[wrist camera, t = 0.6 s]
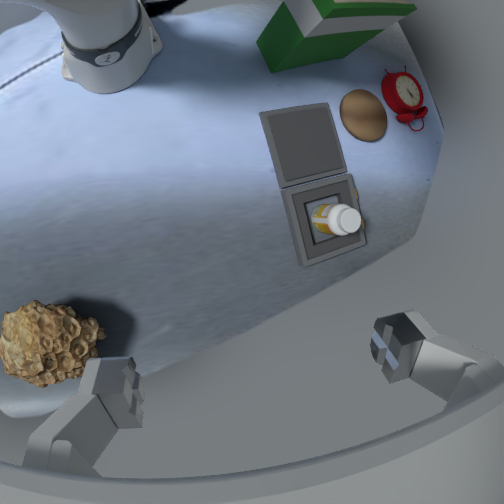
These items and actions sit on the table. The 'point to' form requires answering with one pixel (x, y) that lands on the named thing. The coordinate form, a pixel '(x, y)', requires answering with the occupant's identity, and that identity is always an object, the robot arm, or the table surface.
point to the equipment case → (310, 174)
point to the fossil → (47, 343)
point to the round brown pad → (363, 115)
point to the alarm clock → (404, 96)
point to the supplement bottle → (336, 219)
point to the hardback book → (324, 29)
